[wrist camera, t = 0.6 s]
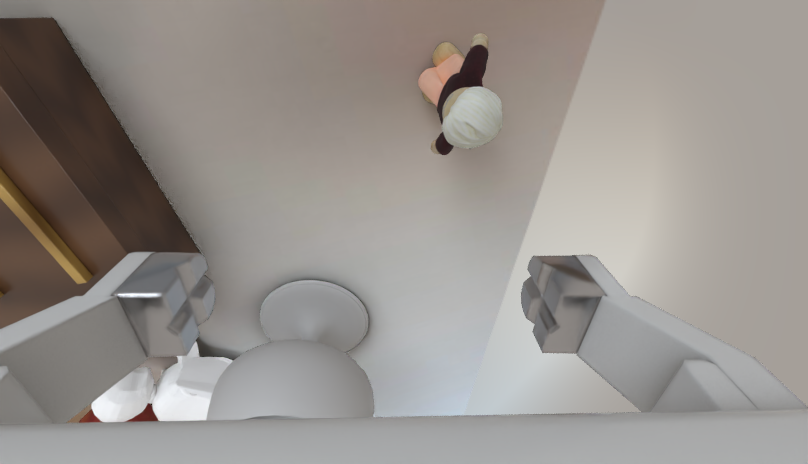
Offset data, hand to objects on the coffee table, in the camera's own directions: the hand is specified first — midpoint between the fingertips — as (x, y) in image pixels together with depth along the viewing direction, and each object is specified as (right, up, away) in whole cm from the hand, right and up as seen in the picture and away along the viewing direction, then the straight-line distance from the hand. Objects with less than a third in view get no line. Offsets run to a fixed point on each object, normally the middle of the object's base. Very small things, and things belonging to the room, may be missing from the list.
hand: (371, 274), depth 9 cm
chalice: (-9, -9, +32) cm, 35 cm away
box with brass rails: (-29, +5, +22) cm, 37 cm away
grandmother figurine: (+4, +13, +19) cm, 24 cm away
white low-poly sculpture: (-24, -14, +35) cm, 45 cm away
